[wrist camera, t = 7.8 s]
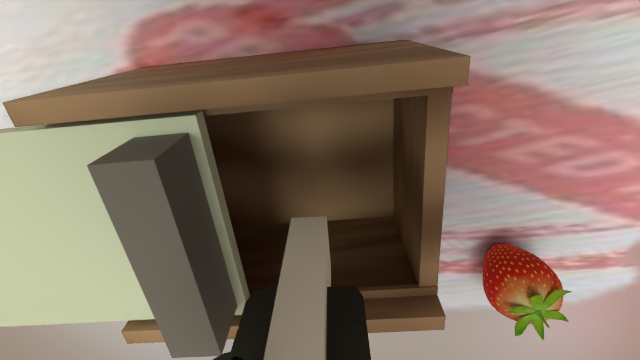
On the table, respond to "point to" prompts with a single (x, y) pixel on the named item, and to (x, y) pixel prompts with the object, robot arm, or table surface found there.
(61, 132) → the lid
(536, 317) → the fruit
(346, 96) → the box
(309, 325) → the robot arm
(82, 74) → the table surface
